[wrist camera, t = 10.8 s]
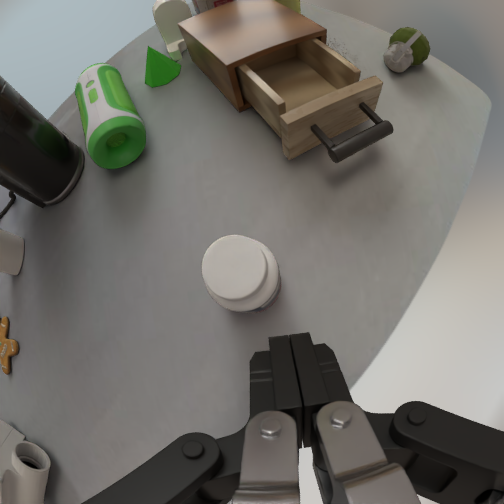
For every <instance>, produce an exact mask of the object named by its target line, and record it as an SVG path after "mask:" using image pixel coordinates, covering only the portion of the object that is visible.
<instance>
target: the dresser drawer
mask: <svg viewBox="0 0 504 504" xmlns="http://www.w3.org/2000/svg"><path fill="white" fill-rule="evenodd" d="M235 72H236V76H237V80H238V84H239V88H240V92H241V95H242V96H243V97H244V98H245V99H246V100H247V101H248V102H249V103H250V104H251V105H252V106H253V107H254V109H255V110H256V111H257V112H258V113H259V114H260V115H261V116H262V117H263V119H264V120H265V121H266V122H267V123H268V124H269V125H270V126H271V128H272V129H273V130H274V131H275V132H276V133H277V134H278V136H279V137H280V138H281V139H282V148H283V153H284V154H285V156H286V157H287V158H288V159H289V160H291V159H293V158H295V157H297V156H298V155H300V154H302V153H304V152H306V151H308V150H310V149H312V148H313V147H315V146H317V145H319V144H321V143H323V144H324V146H325V147H326V148H327V149H328V154H329V156H330V158H331V160H332V161H333V162H335V163H338V162H340V161H342V160H344V159H345V158H347V157H349V156H351V155H353V154H354V153H356V152H358V151H360V150H362V149H364V148H365V147H367V146H369V145H371V144H373V143H375V142H377V141H378V140H380V139H382V138H384V137H386V136H388V135H390V134H392V133H393V126H392V124H391V123H390V122H389V121H387V120H384V121H383V120H382V119H381V118H380V117H379V116H378V115H377V114H376V113H375V112H374V111H375V108H376V105H377V102H378V99H379V95H380V92H381V89H382V85H383V82H382V81H381V80H380V79H379V78H377V77H376V76H372V77H370V78H367V79H364V80H362V81H359V78H360V73H361V71H360V70H359V69H358V68H356V67H355V66H354V65H353V64H351V63H350V62H349V61H347V60H346V59H345V58H343V57H342V56H341V55H339V54H338V53H337V52H335V51H334V50H333V49H331V48H330V47H328V46H327V45H326V44H324V43H323V42H321V41H320V40H318V39H317V38H312V39H309V40H306V41H303V42H300V43H297V44H294V45H291V46H288V47H285V48H282V49H279V50H277V51H274V52H271V53H269V54H266V55H264V56H261V57H259V58H256V59H254V60H251V61H249V62H247V63H244V64H242V65H240V66H237V67H235ZM369 119H371V120H372V121H373V122H374V123H375V124H376V125H374V126H372V127H370V128H368V129H366V130H364V131H362V132H360V133H358V134H356V135H354V136H353V137H351V138H349V139H347V140H345V141H343V142H341V143H339V144H337V145H335V144H334V143H333V142H332V141H331V140H330V139H331V138H333V137H335V136H337V135H339V134H340V133H342V132H344V131H346V130H348V129H350V128H352V127H355V126H357V125H359V124H361V123H363V122H365V121H367V120H369Z"/></svg>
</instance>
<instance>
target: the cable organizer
mask: <svg viewBox="0 0 504 504" xmlns="http://www.w3.org/2000/svg"><path fill="white" fill-rule="evenodd" d="M153 15H154V20H155V22H156V24H157V27H158V29H159V31H160V33H161V35H162V37H163V39H164V41H165V43H166V46H167V50H168V53H169V55H170V57H171V59H172V60H173V61H177V60H180V59H182V55H181V54H182V52H183V51H184V50H186V49H187V46H186V44H185V41H184V39H183V36H182V34H181V32H180V29H179V27H178V23H180V22H182V21H184V20H186V19H189V18H191V17H192V15H191V12H190V9H189V7H188V5H187V4H186V1H185V0H157V1H156V2H155V3H154V6H153Z"/></svg>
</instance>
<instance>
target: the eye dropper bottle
mask: <svg viewBox="0 0 504 504" xmlns="http://www.w3.org/2000/svg"><path fill="white" fill-rule="evenodd" d="M23 255H24V240H23V238H21V237H19V236H16V235H14V234H12V233H9V232H7V231H4V230H2V229H0V272H3V273H7V274H10V275H17V274H18V273H19V271H20V268H21V265H22V261H23Z"/></svg>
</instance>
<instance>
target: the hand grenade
mask: <svg viewBox="0 0 504 504" xmlns="http://www.w3.org/2000/svg"><path fill="white" fill-rule="evenodd" d="M429 52H430V46H429V42H428V40H427V39H426V37H425V36H424V35H423V34H422V33H421V32H420V31H418V30H416V29H414V28H409V27H405V28H400V29H399V30H397V31H396V32H395V33H394V34H393V35H392V36H391V37H390V43H389V47H388V50H387V51H386V53H385V54H384V62H385V64H386V65H387V66H388V67H389V68H390V69H391V70H393V71H395V72H403V71H405V70H406V69H407V68H408V67H409V66H410V65H419V64H421V63H422V62H423V61H424V60H426V59H427V58H428V55H429Z"/></svg>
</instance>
